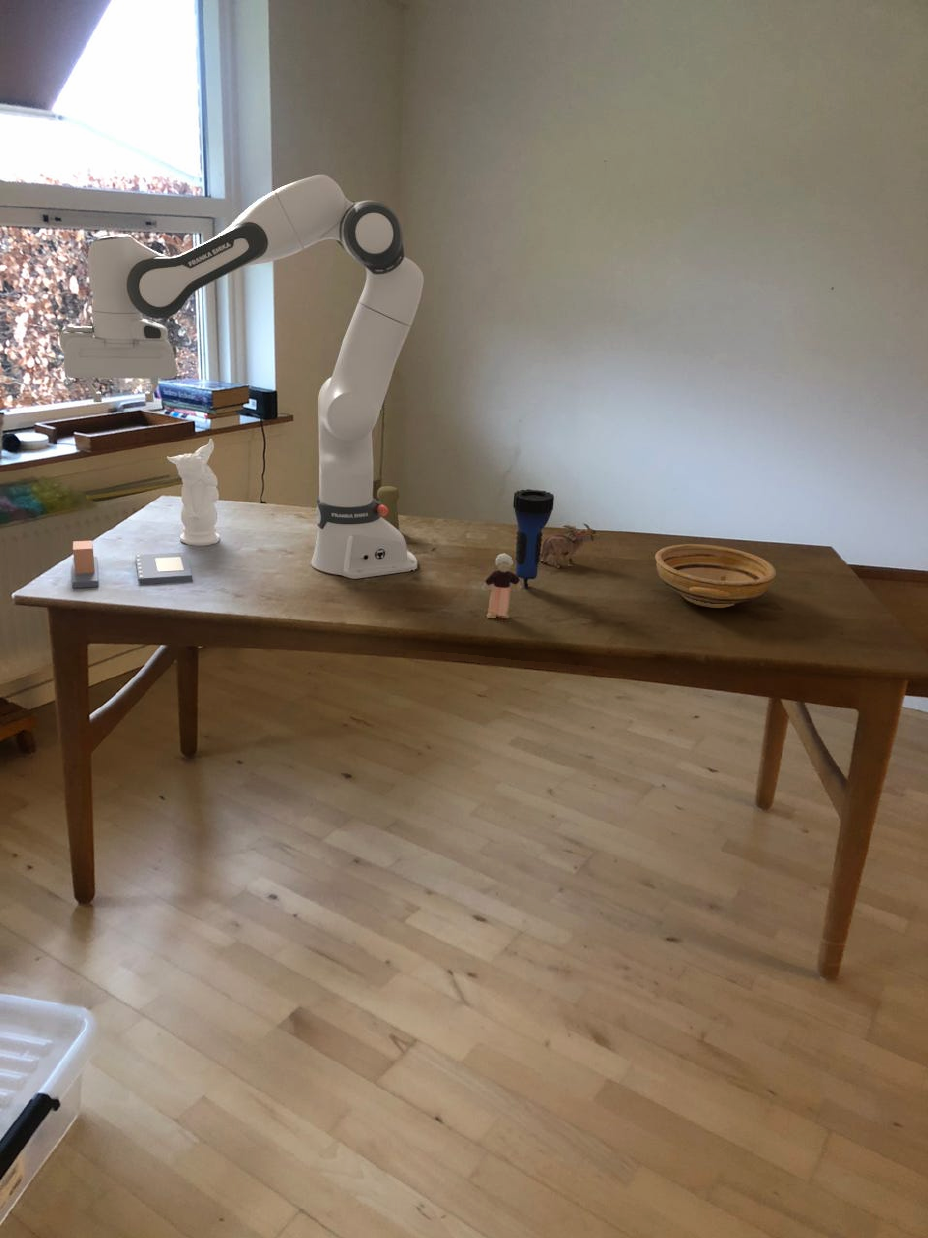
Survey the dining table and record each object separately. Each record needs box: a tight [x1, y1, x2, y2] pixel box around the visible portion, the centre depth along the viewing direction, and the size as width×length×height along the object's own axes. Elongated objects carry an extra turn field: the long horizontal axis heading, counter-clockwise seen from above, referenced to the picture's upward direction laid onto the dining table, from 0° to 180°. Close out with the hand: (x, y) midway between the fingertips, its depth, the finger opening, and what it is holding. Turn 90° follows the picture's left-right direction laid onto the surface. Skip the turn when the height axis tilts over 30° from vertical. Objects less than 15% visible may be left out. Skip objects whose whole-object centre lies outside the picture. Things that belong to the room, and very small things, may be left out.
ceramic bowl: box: [654, 543, 777, 604], centre depth 197 cm, size 30×24×8 cm
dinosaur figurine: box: [539, 523, 597, 566], centre depth 211 cm, size 14×6×9 cm, turn 116°
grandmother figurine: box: [480, 553, 522, 619], centre depth 180 cm, size 8×4×13 cm, turn 114°
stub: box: [71, 540, 99, 589], centre depth 188 cm, size 5×14×6 cm, turn 20°
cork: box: [376, 485, 400, 530], centre depth 224 cm, size 6×6×11 cm
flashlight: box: [512, 488, 555, 589], centre depth 193 cm, size 8×8×20 cm
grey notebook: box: [135, 552, 193, 585], centre depth 194 cm, size 10×14×1 cm
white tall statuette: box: [166, 438, 221, 547], centre depth 210 cm, size 12×12×22 cm
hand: (123, 401), depth 184 cm, fingers open, 8 cm apart
